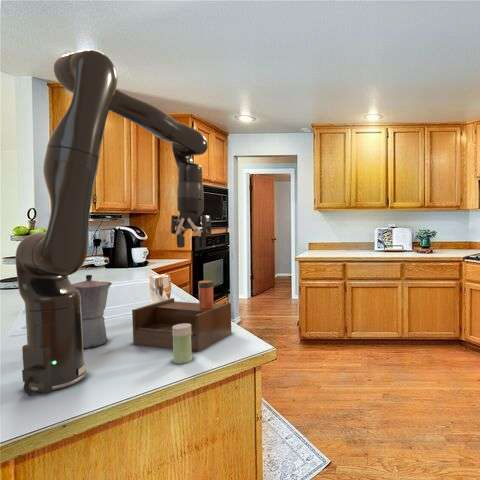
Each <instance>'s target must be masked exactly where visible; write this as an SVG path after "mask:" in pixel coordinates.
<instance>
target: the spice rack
mask: <svg viewBox="0 0 480 480" xmlns="http://www.w3.org/2000/svg"><path fill="white" fill-rule="evenodd" d="M131 316H132V340H133V341H132V342H133V345H139V346H148V347H157V348H166V349H173V335H172V327H173V326H174V325H177V324H183V323H188V324H191V331H192V332H191V346H192V352H200V351H202V350H204V349H206V348H208V347H210V346H212V345H213V344H216V343H217V342H219V341H221V340H222V339H224V338H226V337H228V336H231V335H232V302H225V303H222V304H214V303H213V307H212V308H209V309H200V308H199V302H189V301H175V298H174V297H170V299H167V300H164V301H161V302H157V303H154V304H152V303H151V304H147V305H145V306H141V307H137V308H134V309H132V310H131Z"/></svg>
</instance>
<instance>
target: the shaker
mask: <svg viewBox="0 0 480 480" xmlns="http://www.w3.org/2000/svg"><path fill="white" fill-rule="evenodd" d="M191 332H192V331H191V324H188V323H183V324H177V325H174V326H173V327H172V335H173V348H172V355H173V363H174V364H180V365H181V364H186V363H189V362H191V361H192V359H193V351H192V346H191Z"/></svg>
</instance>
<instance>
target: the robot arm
mask: <svg viewBox="0 0 480 480" xmlns="http://www.w3.org/2000/svg"><path fill="white" fill-rule="evenodd" d="M53 73H54V76H55V78H56V80H57V82H58V83H59V85H61V86H62V87H63V88H64V89H65V90H66V91H68V92H69V93H71V94H72V97H71V101H70V104H69V106H68V108H67V110H66V111H65V113H64V114H63V116H62V118H61V119H60V120H59V122H58V123H57V125H56V126H55V128H54V130H53V131H52V133H51V135H50V136H49V139H48V142H47V146H46V150H45V155H44V160H43V167H42V169H43V178H44V182H45V185H46V189H47V192H48V195H49V199H50V216H49V221H48V226H47V229H46V232H34V233H31V234H29V235H26V236H25V237H24V238H22V239H21V240H20V242H19V243H18V245H17V247H16V250H15V270H16V278H17V279H16V280H17V287H18V292H19V295H20V297H21V298H22V300H23V302H24V308H25V309H24V311H25V323H26V324H25V328H26V343H27V344H24V345H23V346H22V348H21V350H22V365H23V367H22V368H23V369H22V370H21V375H22V377H21V378H22V382H23V391H24V393H25V394H26V395H27V396H28V397H31V396H33V395H34V393H33V392H38V393H45V394H47V393H50V392H52V391H55V390H60V389H63V388H66V387H70V386H72V385H75V384H77V383H79V382H80V381H82V380H83V379H84V378H85V377H86V371H87V364H86V363H85V355H84V353H85V352H84V348H83V334H82V314H81V295H80V292H79V290H78V289H76V288H75V287H74V286H73V285H72V284H73V283H71V281H70V279H69V276H71V275H73V274H75V273H77V272H78V271H80V269H81V268H82V267H83V266H84V265H85V262H86V259H87V256H88V248H89V229H90V215H91V208H92V202H93V196H94V189H95V185H96V179H97V175H98V170H99V169H98V168H99V164H100V158H101V150H102V144H103V140H104V134H105V130H106V123H107V119H108V115H109V111H110V112H112V113H114V114H116V115H119V116H120V117H121V118H124V119H125V120H128V121H129V122H132V123H133V124H134V125H136V126H139V127H140V128H142V129H144V130H145V131H147V132H149V134H151V135H154V136H155V137H157V138H158V139H159V140H161V141H163V142H166V143H171V150H172V154H173V158H174V161H175V165H176V167H177V186H176V201H177V202H176V205H177V206H176V207H177V209H176V210H177V212H179V214H178V215H177V214H172V215H171V221H170V222H171V223H170V224H171V225H170V233H171V234H173V235H175V236H176V246H177V248H180V249H183V248H185V247H186V245H185V241H186V240H185V239H186V237H185V234H186V232H187V231H189V230H193V231H194V232H195V233H196V234H197V248H198V249H199V250H203V249H206V246H207V242H206V241H207V237H208V236H209V235H212V218H211V215H203V212H205V211H204V210H205V209H204V207H205V203H204V201H205V199H204V198H205V197H204V184H203V167H202V166H201V165H200V164H198V163H195V162H194V160H193V157H194V156H196V157H197V156H202V155H204V154H206V152H207V151H208V148H209V144H208V140H207V138H206V137H205V136H204V135H203V133H201V131H198V130H197V129H195V128H193V127H191V126H188V125H186V124H184V123H182V122H179V121H177V120H175V119H174V118H173V117H171V116H170V115H169V114H168V113H166V112H165V111H163V110H162V109H160V108H159V107H158V106H155V105H153V104H151V103H150V102H149V103H148V102H146V101H144V100H141V99H139V98H136V97H134V96H132V95H129V94H127V93H125V92H123V91H122V90H120V89H117V86H118V72H117V69H116V66H115V64H114V63H113V61H112V60H111V59H110V58H109V56H107V55H106V54H105V53H103V52H101V51H99V50H94V49H84V50H79V51H75V52H72V53H67V54H64V55H62V56H60V57H58V58H57V59H56V60H55V62H54V63H53Z"/></svg>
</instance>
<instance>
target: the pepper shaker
mask: <svg viewBox="0 0 480 480" xmlns="http://www.w3.org/2000/svg"><path fill="white" fill-rule="evenodd" d="M197 287H198V303H199V308H200V309H209V308H212V307H213V304H214V280H207V279H206V280H199V281H198V282H197Z"/></svg>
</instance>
